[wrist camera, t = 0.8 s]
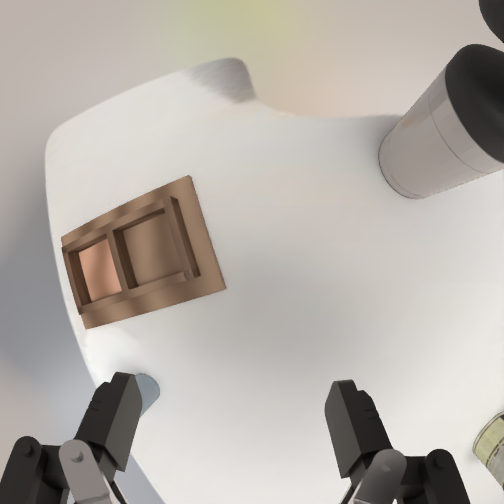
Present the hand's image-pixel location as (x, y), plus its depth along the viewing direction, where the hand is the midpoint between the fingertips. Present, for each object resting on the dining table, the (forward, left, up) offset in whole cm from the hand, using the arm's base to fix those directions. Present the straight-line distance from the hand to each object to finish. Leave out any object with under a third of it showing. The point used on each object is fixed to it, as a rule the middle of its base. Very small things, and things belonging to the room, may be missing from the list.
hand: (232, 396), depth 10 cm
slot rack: (+5, -17, -22) cm, 29 cm away
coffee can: (+1, +52, -22) cm, 56 cm away
